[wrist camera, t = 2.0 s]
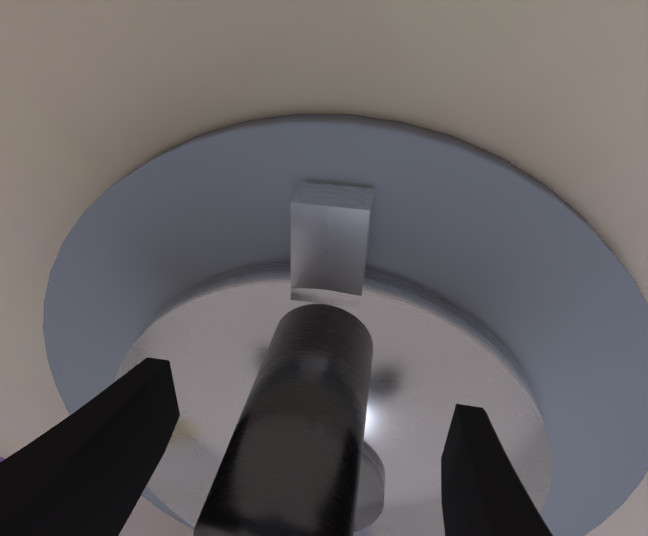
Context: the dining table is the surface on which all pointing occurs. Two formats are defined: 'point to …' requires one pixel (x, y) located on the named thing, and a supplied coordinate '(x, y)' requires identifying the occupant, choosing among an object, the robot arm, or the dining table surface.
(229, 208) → the grey round plate
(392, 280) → the light grey rounded piece
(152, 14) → the dining table surface
